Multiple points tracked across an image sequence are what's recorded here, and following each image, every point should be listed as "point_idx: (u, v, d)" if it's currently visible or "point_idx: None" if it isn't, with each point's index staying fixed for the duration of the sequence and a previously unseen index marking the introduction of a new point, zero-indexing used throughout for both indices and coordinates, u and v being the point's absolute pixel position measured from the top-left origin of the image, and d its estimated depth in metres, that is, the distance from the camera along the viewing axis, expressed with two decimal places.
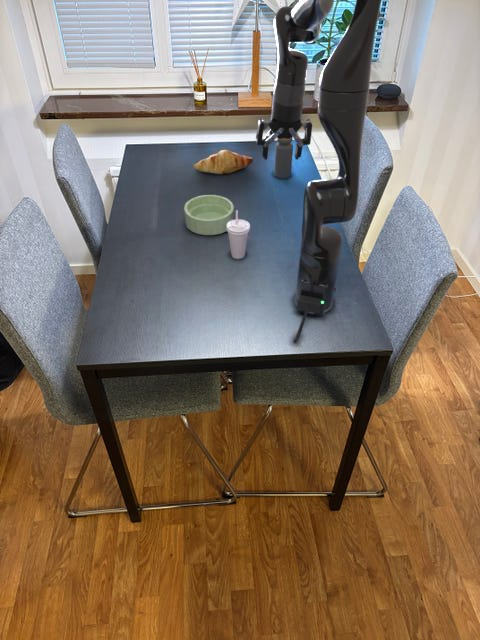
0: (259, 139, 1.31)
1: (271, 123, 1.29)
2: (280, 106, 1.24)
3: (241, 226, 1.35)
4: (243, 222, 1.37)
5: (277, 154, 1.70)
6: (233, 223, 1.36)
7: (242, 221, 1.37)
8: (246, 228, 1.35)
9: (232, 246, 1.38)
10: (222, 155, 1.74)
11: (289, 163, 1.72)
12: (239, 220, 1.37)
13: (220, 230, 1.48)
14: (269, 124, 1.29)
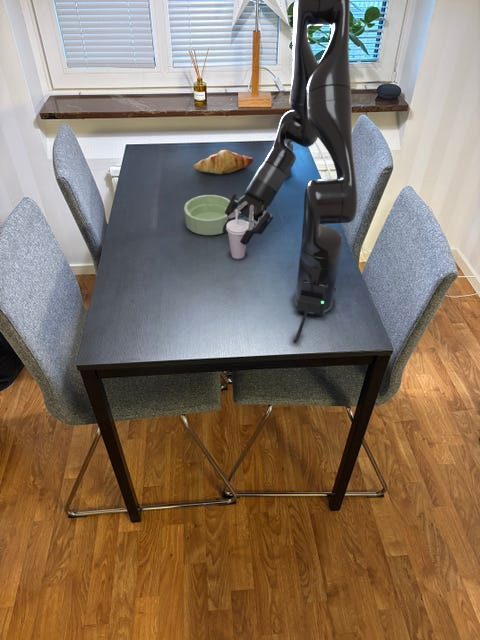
0: (228, 208, 1.38)
1: (242, 197, 1.37)
2: (253, 178, 1.34)
3: (241, 226, 1.35)
4: (243, 222, 1.37)
5: None
6: (233, 223, 1.36)
7: (242, 221, 1.37)
8: (246, 228, 1.35)
9: (232, 246, 1.38)
10: (222, 155, 1.74)
11: None
12: (239, 220, 1.37)
13: (220, 230, 1.48)
14: (241, 198, 1.37)
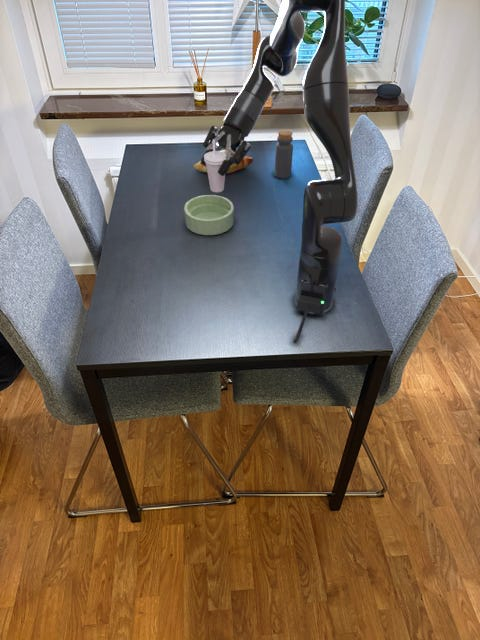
0: (206, 140, 1.37)
1: (220, 128, 1.36)
2: None
3: (219, 156, 1.34)
4: (221, 153, 1.36)
5: (277, 154, 1.70)
6: (211, 154, 1.35)
7: (220, 152, 1.36)
8: (223, 158, 1.33)
9: (210, 178, 1.37)
10: None
11: (289, 163, 1.72)
12: (217, 152, 1.36)
13: (220, 230, 1.48)
14: None
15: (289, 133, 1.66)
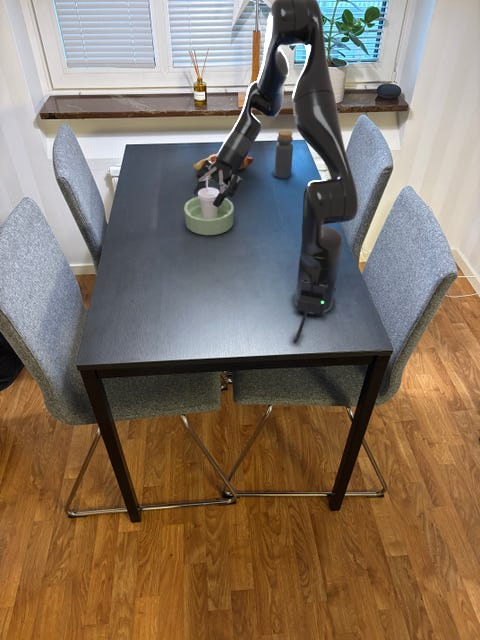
0: (199, 172, 1.49)
1: (213, 163, 1.48)
2: (222, 146, 1.45)
3: (211, 193, 1.46)
4: (213, 190, 1.48)
5: (277, 154, 1.70)
6: (204, 190, 1.47)
7: (213, 189, 1.49)
8: (216, 195, 1.46)
9: (204, 212, 1.50)
10: None
11: (289, 163, 1.72)
12: (210, 188, 1.49)
13: (220, 230, 1.48)
14: (212, 164, 1.48)
15: (289, 133, 1.66)
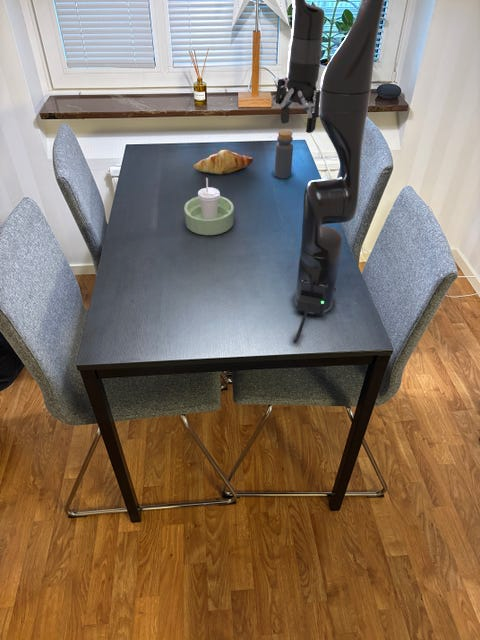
0: (277, 97, 1.29)
1: (287, 82, 1.25)
2: (288, 61, 1.20)
3: (211, 193, 1.46)
4: (213, 190, 1.48)
5: (277, 154, 1.70)
6: (204, 190, 1.47)
7: (213, 189, 1.49)
8: (216, 195, 1.46)
9: (204, 212, 1.50)
10: (222, 155, 1.74)
11: (289, 163, 1.72)
12: (210, 188, 1.49)
13: (220, 230, 1.48)
14: (287, 83, 1.26)
15: (289, 133, 1.66)
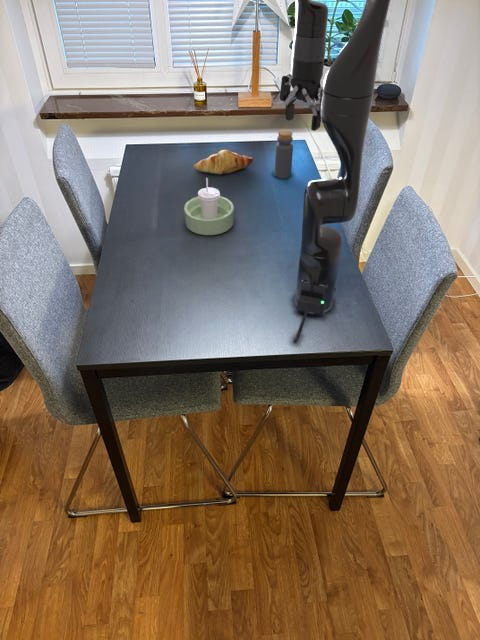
0: (281, 94, 1.28)
1: (291, 79, 1.23)
2: (292, 59, 1.18)
3: (211, 193, 1.46)
4: (213, 190, 1.48)
5: (277, 154, 1.70)
6: (204, 190, 1.47)
7: (213, 189, 1.49)
8: (216, 195, 1.46)
9: (204, 212, 1.50)
10: (222, 155, 1.74)
11: (289, 163, 1.72)
12: (210, 188, 1.49)
13: (220, 230, 1.48)
14: (291, 80, 1.24)
15: (289, 133, 1.66)
